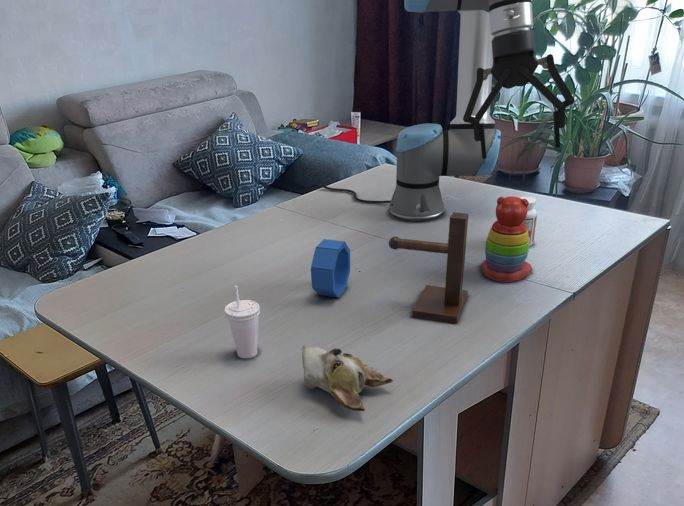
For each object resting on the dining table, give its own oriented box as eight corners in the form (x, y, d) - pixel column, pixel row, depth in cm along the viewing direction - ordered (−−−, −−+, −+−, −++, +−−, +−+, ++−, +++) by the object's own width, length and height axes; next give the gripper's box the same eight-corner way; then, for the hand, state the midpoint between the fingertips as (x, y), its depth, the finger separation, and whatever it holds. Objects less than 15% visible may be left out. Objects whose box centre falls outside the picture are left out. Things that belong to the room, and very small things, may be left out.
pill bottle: (518, 236, 164) (523, 193, 158) (538, 242, 160) (544, 199, 154) (502, 242, 161) (507, 199, 155) (522, 249, 157) (528, 205, 151)
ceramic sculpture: (320, 322, 112) (397, 350, 105) (320, 363, 117) (393, 392, 110) (284, 351, 105) (363, 383, 98) (285, 393, 109) (361, 426, 103)
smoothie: (231, 345, 124) (222, 279, 116) (264, 343, 124) (257, 276, 117) (229, 363, 118) (219, 295, 111) (264, 361, 119) (257, 292, 111)
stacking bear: (532, 267, 148) (543, 192, 139) (524, 286, 141) (534, 207, 131) (485, 261, 152) (493, 187, 143) (475, 278, 145) (481, 201, 135)
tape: (312, 301, 138) (309, 253, 132) (330, 279, 147) (329, 233, 141) (333, 304, 136) (331, 255, 130) (350, 282, 145) (349, 235, 139)
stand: (380, 312, 133) (380, 219, 122) (395, 287, 142) (397, 199, 132) (456, 323, 128) (463, 227, 117) (467, 296, 137) (475, 205, 127)
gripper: (442, 45, 119) (453, 163, 125) (586, 15, 112) (591, 142, 118) (445, 49, 126) (456, 161, 132) (582, 21, 118) (587, 141, 125)
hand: (520, 153), depth 125 cm, fingers open, 13 cm apart
